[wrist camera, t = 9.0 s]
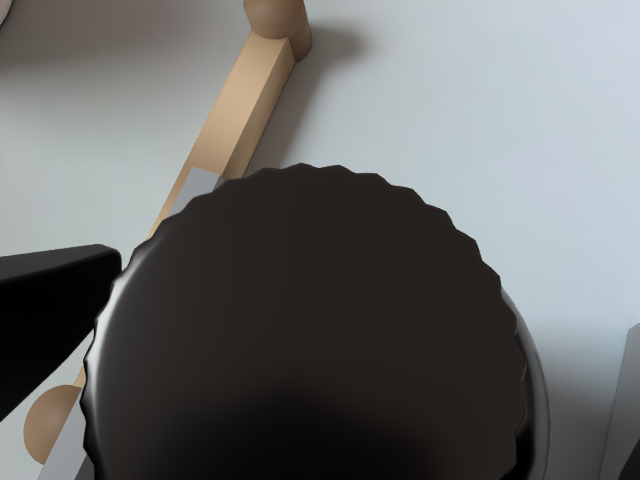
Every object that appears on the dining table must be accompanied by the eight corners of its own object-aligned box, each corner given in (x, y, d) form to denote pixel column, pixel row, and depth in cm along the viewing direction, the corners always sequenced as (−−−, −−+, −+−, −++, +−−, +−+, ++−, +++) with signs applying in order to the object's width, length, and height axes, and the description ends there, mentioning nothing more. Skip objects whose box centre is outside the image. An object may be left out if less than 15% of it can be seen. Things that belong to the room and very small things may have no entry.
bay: (567, 883, 13) (611, 1003, 10) (43, 588, 16) (-31, 615, 14) (665, 340, 16) (717, 316, 14) (221, 206, 20) (192, 166, 18)
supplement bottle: (464, 304, 18) (555, 49, 7) (505, 546, 15) (762, 783, 4) (256, 325, 18) (29, 127, 7) (262, 558, 16) (-72, 785, 5)
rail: (114, 476, 17) (71, 479, 15) (58, 449, 18) (9, 448, 16) (320, 27, 23) (310, -19, 21) (271, 18, 23) (257, -29, 21)
